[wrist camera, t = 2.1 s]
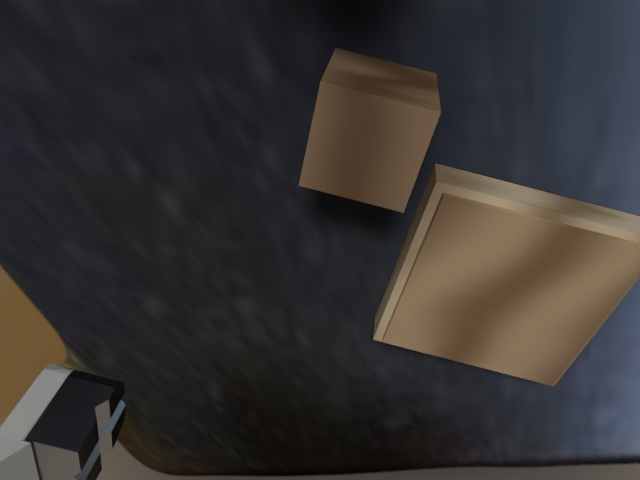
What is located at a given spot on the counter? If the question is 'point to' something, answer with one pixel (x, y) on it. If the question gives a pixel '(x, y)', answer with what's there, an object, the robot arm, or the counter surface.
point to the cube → (370, 129)
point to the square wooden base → (507, 275)
